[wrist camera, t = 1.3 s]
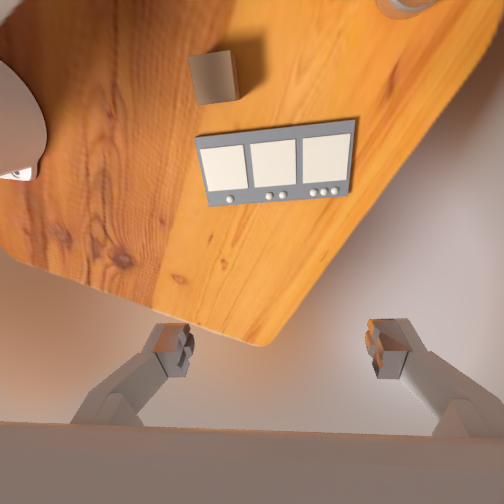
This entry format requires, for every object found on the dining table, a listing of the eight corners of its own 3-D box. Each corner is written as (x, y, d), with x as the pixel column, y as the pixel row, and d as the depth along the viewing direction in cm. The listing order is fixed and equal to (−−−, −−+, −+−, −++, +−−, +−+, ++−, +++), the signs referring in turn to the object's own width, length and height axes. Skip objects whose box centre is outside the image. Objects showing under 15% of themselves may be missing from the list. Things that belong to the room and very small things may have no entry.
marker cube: (206, 103, 33) (197, 105, 29) (198, 60, 30) (187, 56, 26) (240, 99, 32) (236, 100, 28) (235, 54, 30) (229, 49, 26)
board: (210, 204, 40) (208, 207, 39) (195, 136, 35) (193, 138, 34) (346, 194, 38) (348, 196, 37) (353, 119, 32) (355, 120, 31)
